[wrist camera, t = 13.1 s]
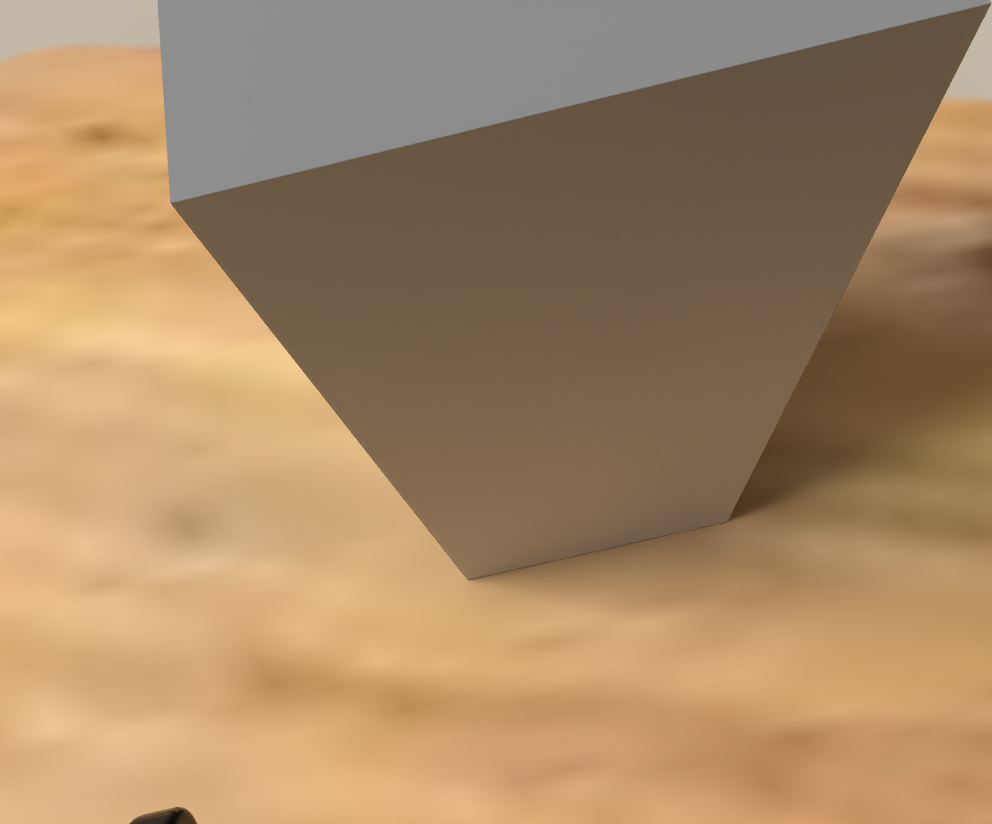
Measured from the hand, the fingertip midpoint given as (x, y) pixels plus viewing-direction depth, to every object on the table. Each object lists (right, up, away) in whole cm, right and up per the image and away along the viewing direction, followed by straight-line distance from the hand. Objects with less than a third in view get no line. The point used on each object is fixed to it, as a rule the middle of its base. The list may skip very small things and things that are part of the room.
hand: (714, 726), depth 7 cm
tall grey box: (0, +2, +16) cm, 16 cm away
